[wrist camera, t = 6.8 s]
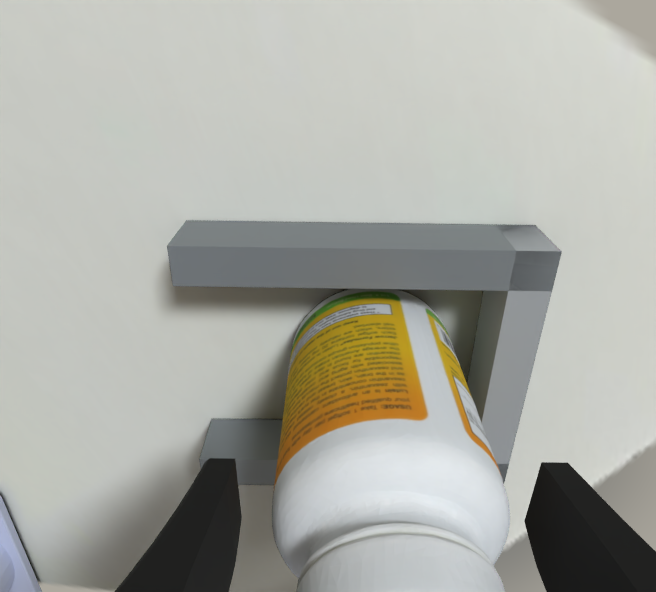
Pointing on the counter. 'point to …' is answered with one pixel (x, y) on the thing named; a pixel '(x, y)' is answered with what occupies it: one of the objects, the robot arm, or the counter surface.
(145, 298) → the counter surface
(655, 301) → the counter surface
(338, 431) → the supplement bottle
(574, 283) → the counter surface
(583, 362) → the counter surface
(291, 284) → the gray u-shaped bracket
